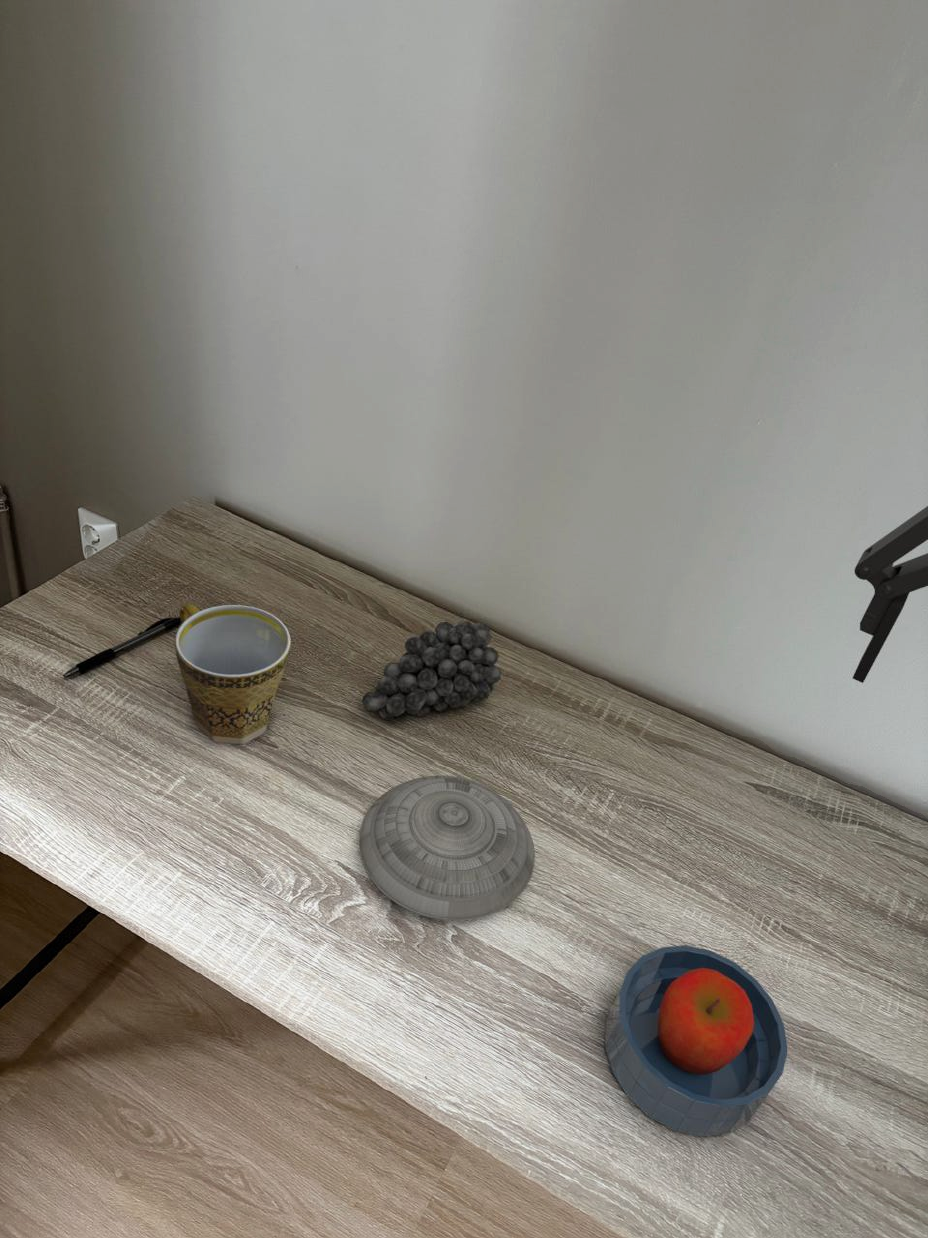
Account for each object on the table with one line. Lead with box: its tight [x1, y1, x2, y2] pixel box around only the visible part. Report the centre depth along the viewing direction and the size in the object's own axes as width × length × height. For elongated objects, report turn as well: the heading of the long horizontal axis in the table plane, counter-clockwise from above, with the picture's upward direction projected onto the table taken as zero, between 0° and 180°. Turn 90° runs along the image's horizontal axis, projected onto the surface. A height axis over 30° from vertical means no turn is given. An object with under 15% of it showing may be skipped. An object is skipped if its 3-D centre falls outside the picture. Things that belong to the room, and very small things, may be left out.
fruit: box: [361, 620, 502, 721], centre depth 96 cm, size 9×8×15 cm
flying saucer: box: [358, 775, 536, 922], centre depth 82 cm, size 15×15×6 cm
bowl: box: [604, 944, 788, 1137], centre depth 71 cm, size 12×12×5 cm
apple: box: [658, 968, 754, 1074], centre depth 70 cm, size 6×6×8 cm
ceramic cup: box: [174, 603, 292, 745], centre depth 90 cm, size 13×10×10 cm
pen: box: [62, 616, 182, 679], centre depth 98 cm, size 14×2×1 cm, turn 140°
